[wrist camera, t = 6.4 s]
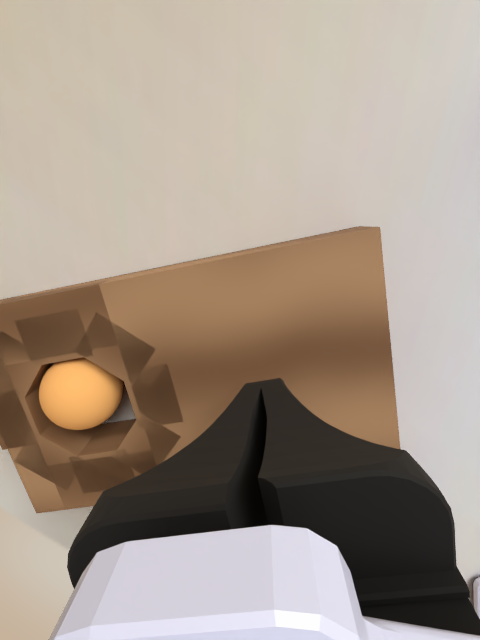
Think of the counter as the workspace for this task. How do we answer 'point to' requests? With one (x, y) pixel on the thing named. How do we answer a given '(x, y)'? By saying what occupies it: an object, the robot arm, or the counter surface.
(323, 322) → the board
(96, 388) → the ball
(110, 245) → the counter surface
